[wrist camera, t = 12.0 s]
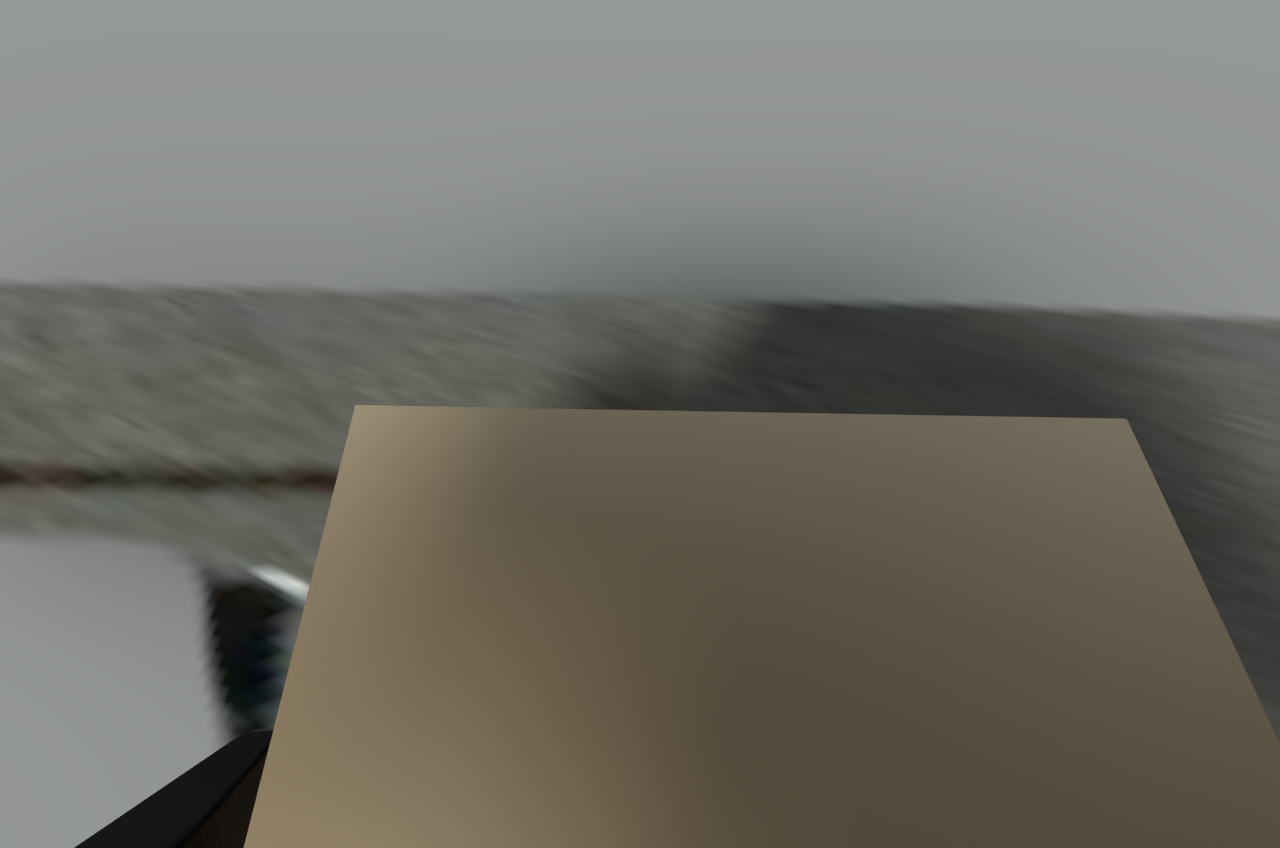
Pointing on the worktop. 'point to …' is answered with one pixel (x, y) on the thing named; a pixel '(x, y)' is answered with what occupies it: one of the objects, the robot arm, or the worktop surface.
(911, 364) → the worktop surface
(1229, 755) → the birch peg
